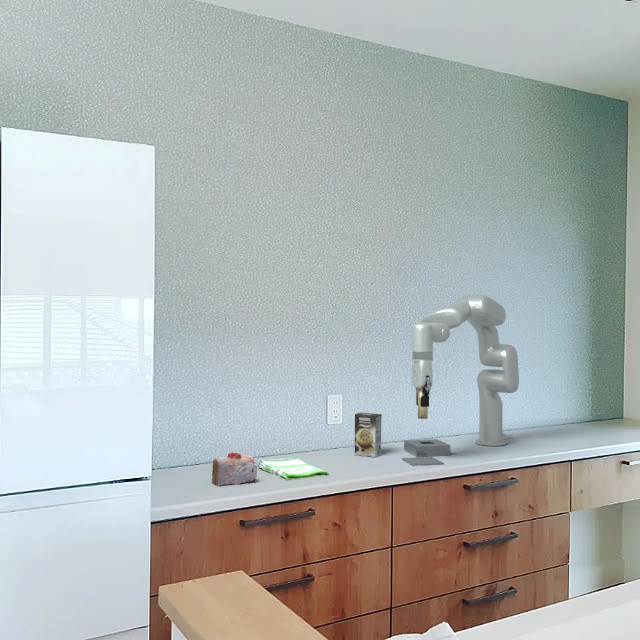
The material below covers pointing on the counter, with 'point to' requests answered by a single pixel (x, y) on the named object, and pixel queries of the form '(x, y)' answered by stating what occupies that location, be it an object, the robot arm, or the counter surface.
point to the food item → (233, 470)
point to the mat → (423, 461)
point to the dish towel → (290, 468)
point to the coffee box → (368, 434)
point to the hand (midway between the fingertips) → (422, 405)
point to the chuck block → (427, 447)
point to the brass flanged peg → (421, 410)
